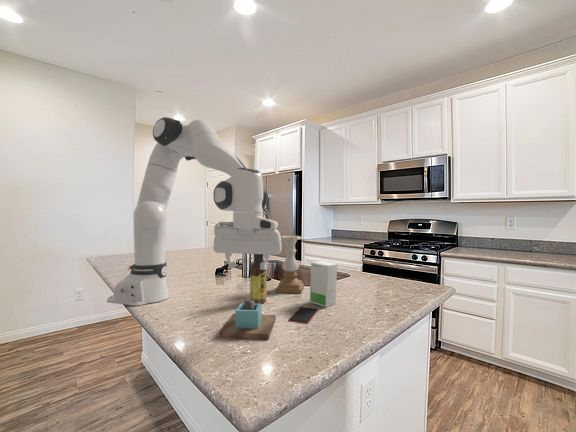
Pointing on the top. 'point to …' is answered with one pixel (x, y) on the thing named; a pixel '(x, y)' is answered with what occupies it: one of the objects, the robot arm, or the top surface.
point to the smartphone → (303, 315)
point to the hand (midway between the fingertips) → (247, 268)
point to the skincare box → (323, 283)
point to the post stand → (249, 333)
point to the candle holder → (290, 269)
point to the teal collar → (248, 317)
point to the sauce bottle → (258, 281)
